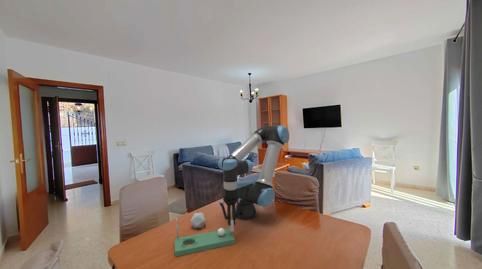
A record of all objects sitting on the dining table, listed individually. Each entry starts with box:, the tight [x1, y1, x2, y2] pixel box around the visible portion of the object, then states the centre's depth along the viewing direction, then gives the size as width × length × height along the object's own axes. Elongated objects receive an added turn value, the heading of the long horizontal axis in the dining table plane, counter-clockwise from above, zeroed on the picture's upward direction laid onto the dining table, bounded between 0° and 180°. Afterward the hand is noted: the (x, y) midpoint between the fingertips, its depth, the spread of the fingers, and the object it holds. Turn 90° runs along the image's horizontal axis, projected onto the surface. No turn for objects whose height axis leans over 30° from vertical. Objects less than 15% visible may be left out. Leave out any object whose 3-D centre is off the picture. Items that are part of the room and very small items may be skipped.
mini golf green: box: [174, 217, 236, 258], centre depth 109 cm, size 30×12×14 cm, turn 108°
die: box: [190, 212, 207, 229], centre depth 127 cm, size 8×9×10 cm
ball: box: [217, 227, 225, 236], centre depth 112 cm, size 4×4×4 cm
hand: (231, 230), depth 114 cm, fingers closed
